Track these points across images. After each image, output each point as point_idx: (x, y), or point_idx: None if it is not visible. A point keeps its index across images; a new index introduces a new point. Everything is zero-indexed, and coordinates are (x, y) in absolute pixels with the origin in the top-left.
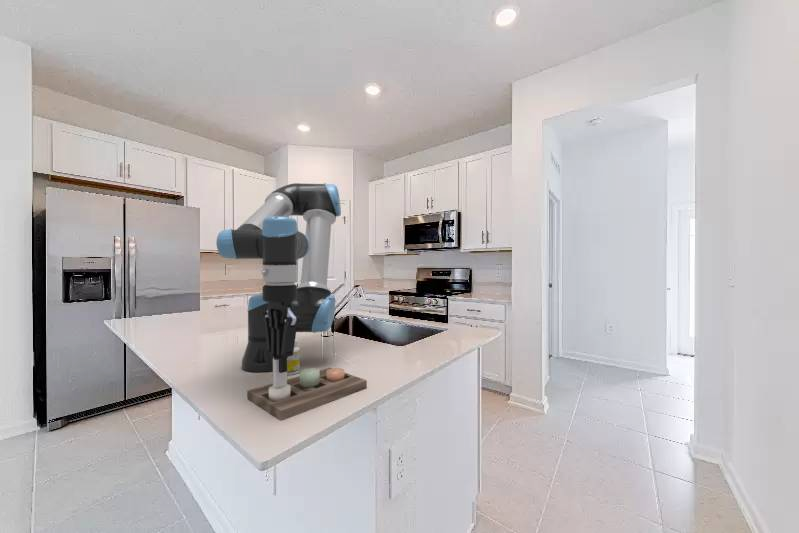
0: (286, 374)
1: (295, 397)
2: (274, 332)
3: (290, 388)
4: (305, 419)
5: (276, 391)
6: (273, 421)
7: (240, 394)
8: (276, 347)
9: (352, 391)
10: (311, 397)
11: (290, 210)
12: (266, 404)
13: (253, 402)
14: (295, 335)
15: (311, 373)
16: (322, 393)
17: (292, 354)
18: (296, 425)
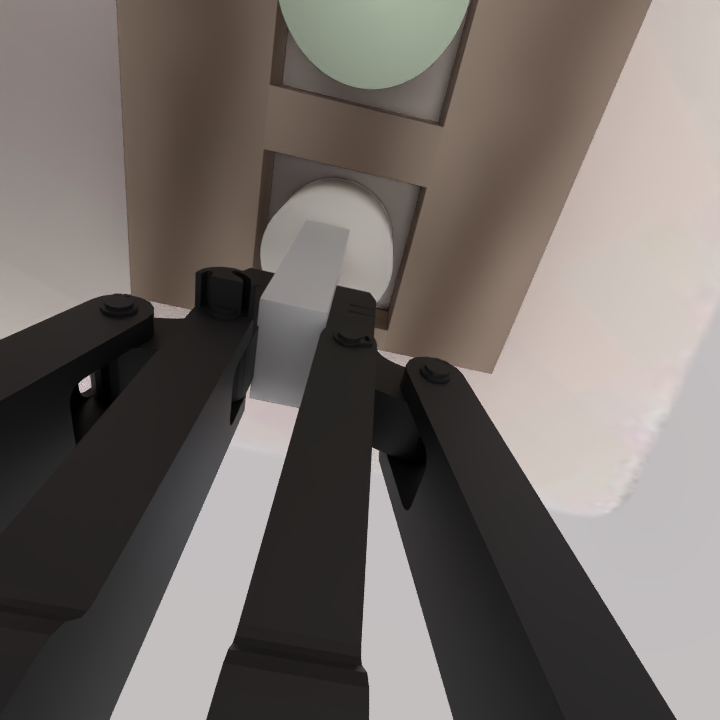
0: (342, 255)
1: (445, 231)
2: (140, 632)
3: (377, 215)
4: (583, 296)
5: None
6: (459, 367)
7: (62, 257)
8: (224, 431)
9: None
10: (540, 181)
11: None
12: None
13: None
14: (597, 595)
15: (435, 21)
16: (576, 84)
17: (459, 378)
18: (576, 350)
